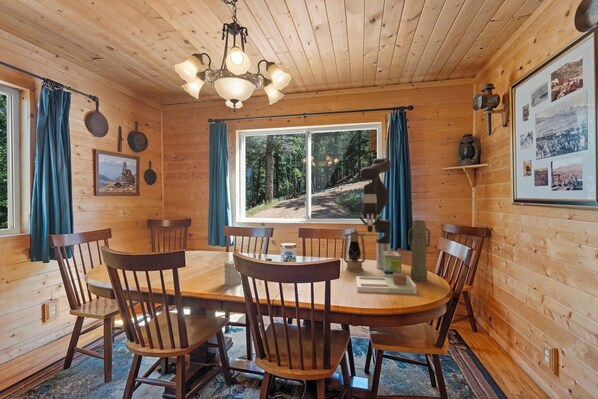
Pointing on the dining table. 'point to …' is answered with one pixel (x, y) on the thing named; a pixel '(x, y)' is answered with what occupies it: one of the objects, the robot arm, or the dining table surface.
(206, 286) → the dining table surface
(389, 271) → the tea box
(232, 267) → the supplement box
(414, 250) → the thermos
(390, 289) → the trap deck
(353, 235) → the lantern
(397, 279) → the walnut block
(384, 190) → the robot arm
